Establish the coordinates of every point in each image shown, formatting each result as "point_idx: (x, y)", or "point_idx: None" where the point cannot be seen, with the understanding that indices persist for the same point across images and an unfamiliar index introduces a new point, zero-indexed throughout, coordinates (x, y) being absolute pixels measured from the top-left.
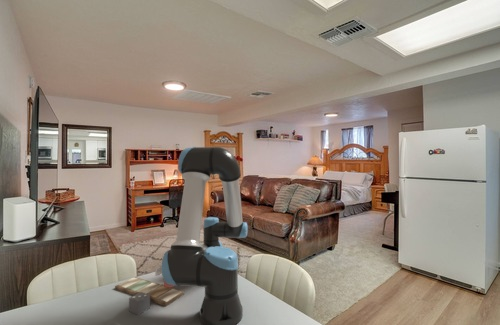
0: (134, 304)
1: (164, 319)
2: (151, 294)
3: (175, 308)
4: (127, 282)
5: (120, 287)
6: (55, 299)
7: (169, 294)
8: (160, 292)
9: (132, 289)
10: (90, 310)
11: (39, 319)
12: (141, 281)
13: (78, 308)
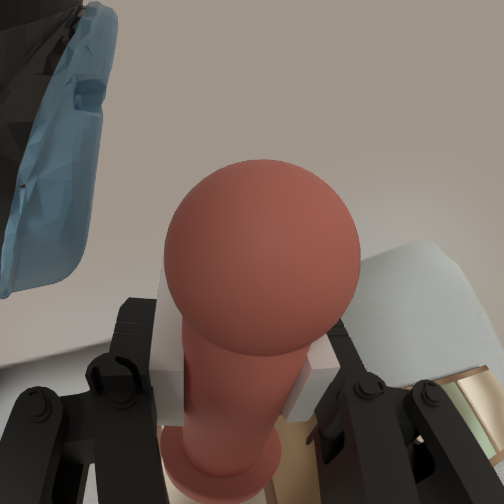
0: None
1: (96, 348)
2: (315, 424)
3: None
4: (496, 399)
5: (469, 372)
6: (468, 284)
7: None
8: (295, 467)
9: None
10: (375, 294)
11: (395, 250)
12: (485, 444)
13: (404, 287)
